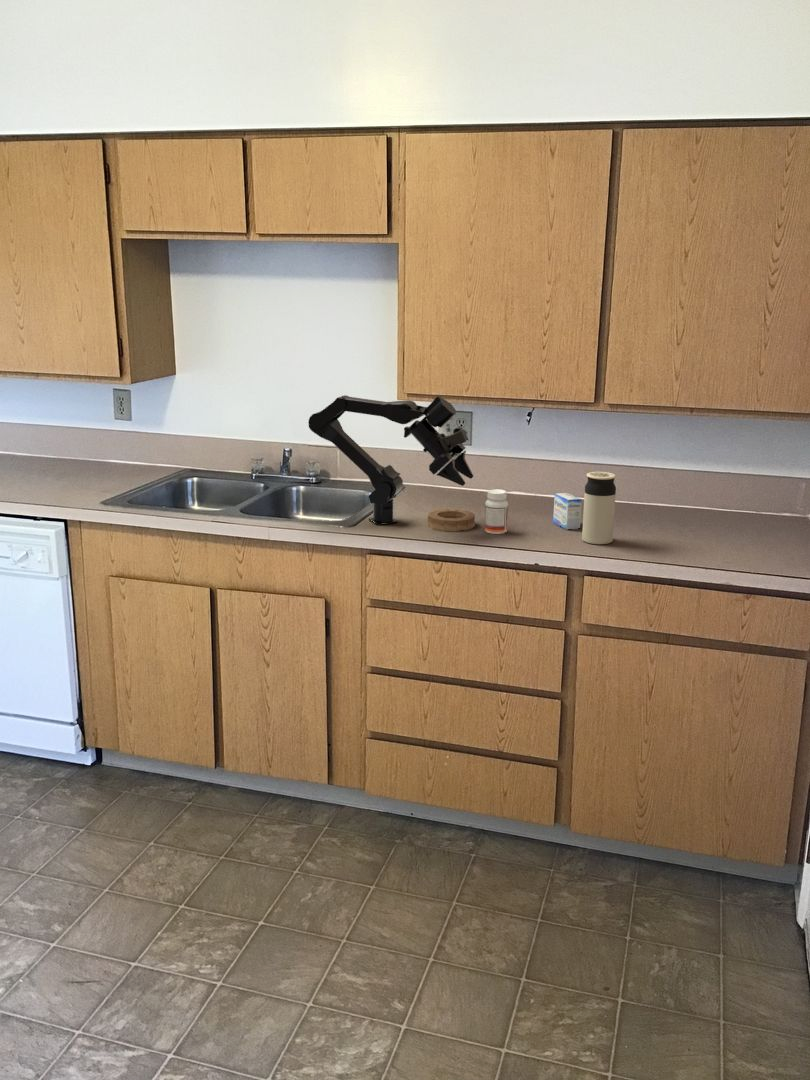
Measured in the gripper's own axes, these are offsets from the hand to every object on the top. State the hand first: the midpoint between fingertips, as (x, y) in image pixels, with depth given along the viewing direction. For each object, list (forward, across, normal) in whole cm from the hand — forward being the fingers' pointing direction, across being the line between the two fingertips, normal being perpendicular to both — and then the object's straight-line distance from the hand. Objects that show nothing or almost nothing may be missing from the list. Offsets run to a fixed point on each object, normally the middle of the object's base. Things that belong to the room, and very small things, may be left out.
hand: (468, 481), depth 273 cm
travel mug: (+35, -1, -16) cm, 38 cm away
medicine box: (+28, +12, -8) cm, 31 cm away
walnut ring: (+6, +3, +13) cm, 15 cm away
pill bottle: (+16, 0, +4) cm, 16 cm away
